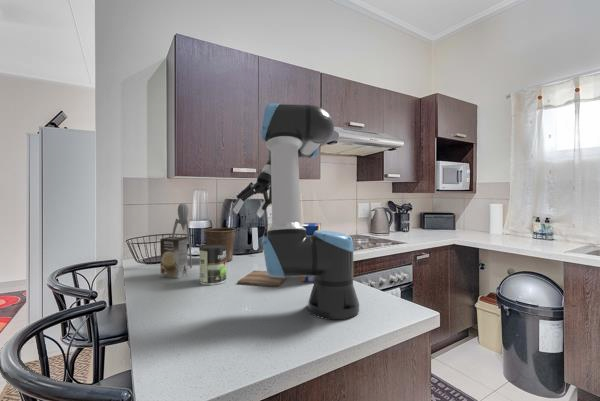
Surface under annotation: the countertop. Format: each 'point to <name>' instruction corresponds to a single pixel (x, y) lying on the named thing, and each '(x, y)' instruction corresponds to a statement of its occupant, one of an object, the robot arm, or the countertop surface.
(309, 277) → the beverage box
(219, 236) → the plant pot
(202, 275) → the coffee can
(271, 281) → the walnut board
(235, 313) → the countertop surface
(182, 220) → the citrus juicer
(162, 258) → the coffee box
